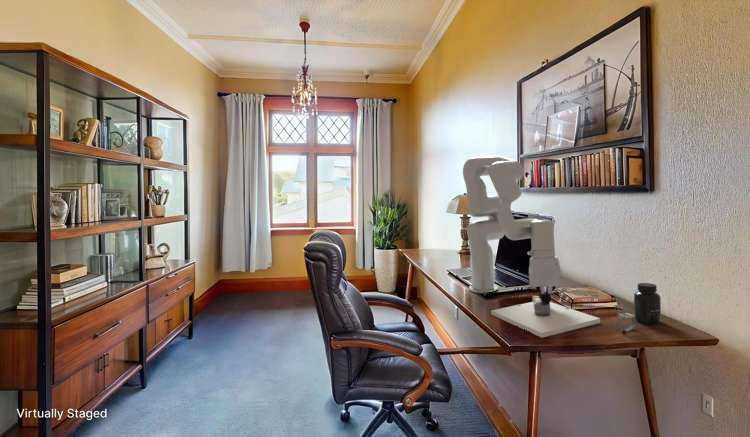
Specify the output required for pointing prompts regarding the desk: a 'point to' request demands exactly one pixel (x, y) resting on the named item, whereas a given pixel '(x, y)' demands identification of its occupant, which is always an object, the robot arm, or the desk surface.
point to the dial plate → (545, 319)
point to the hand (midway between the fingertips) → (546, 303)
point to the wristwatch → (626, 316)
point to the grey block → (540, 307)
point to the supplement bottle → (647, 304)
